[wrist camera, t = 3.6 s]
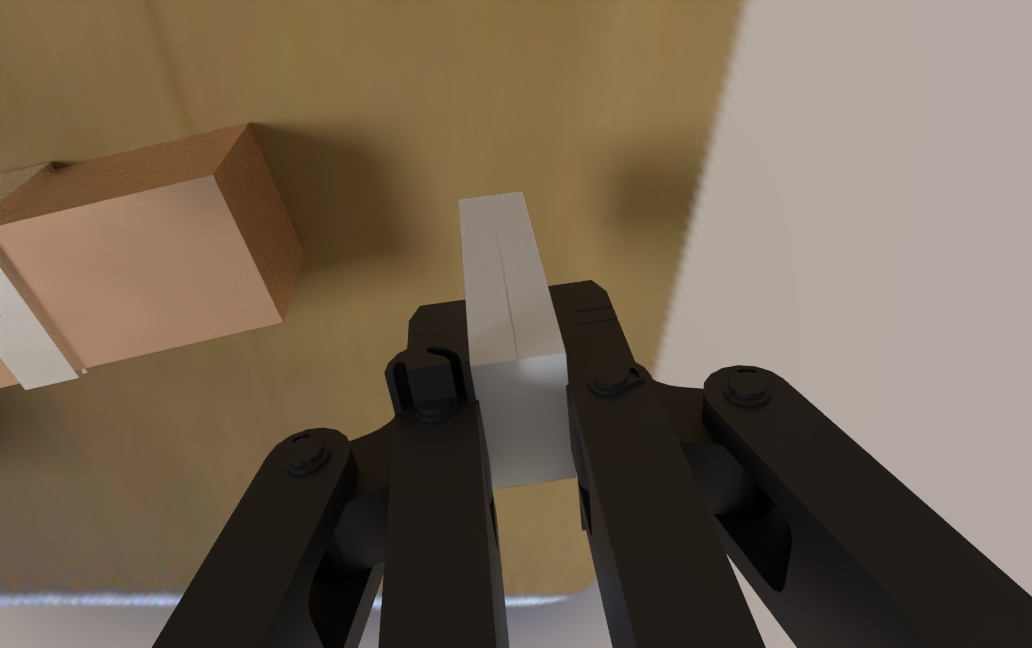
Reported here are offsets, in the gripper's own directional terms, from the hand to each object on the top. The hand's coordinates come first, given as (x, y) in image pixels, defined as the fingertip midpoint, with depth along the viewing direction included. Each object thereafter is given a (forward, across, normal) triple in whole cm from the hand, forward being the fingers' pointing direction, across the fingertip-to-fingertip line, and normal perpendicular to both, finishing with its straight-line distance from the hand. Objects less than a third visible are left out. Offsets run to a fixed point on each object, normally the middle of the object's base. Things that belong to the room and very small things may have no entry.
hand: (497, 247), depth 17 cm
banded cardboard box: (+4, -12, 0) cm, 12 cm away
